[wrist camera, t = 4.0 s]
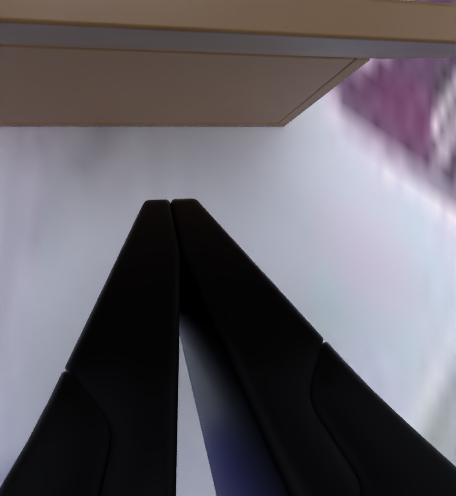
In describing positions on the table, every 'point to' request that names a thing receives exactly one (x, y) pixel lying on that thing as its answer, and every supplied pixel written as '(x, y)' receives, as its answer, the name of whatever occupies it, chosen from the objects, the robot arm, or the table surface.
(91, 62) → the carton
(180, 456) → the table surface
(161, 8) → the flap
